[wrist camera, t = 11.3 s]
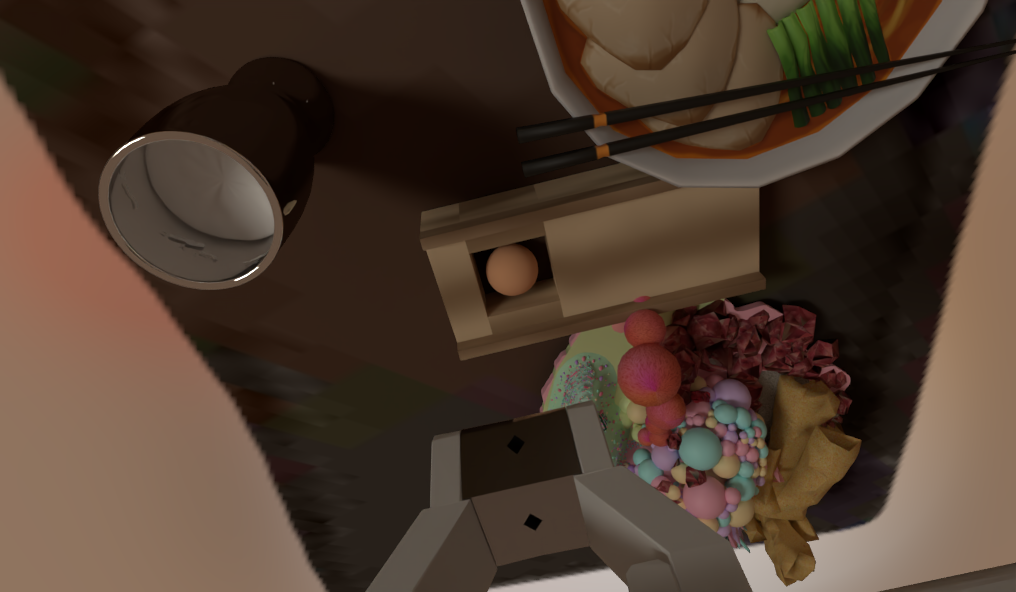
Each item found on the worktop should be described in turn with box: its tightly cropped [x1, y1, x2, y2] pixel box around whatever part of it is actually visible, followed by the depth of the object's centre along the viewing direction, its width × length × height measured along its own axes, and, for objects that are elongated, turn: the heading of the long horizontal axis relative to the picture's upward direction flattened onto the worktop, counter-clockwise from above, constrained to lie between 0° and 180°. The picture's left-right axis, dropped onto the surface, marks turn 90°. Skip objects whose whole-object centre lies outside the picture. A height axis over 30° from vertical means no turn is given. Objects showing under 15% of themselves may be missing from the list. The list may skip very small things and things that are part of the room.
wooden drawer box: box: [420, 163, 766, 360], centre depth 40 cm, size 10×21×4 cm, turn 103°
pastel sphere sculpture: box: [540, 296, 862, 586], centre depth 45 cm, size 25×24×9 cm
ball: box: [486, 243, 538, 296], centre depth 41 cm, size 4×4×4 cm
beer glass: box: [99, 57, 334, 290], centre depth 29 cm, size 7×7×15 cm
